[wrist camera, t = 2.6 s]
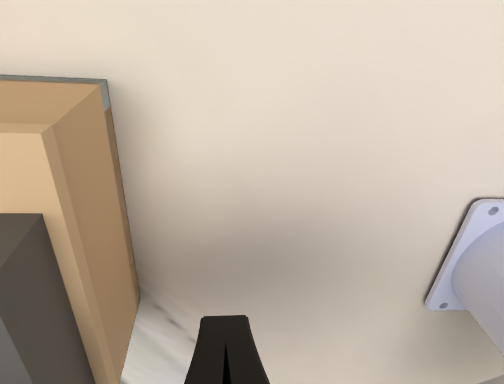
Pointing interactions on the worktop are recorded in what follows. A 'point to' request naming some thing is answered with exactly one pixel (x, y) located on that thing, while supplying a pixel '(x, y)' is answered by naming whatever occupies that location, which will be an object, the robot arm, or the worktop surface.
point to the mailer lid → (44, 270)
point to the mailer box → (87, 187)
